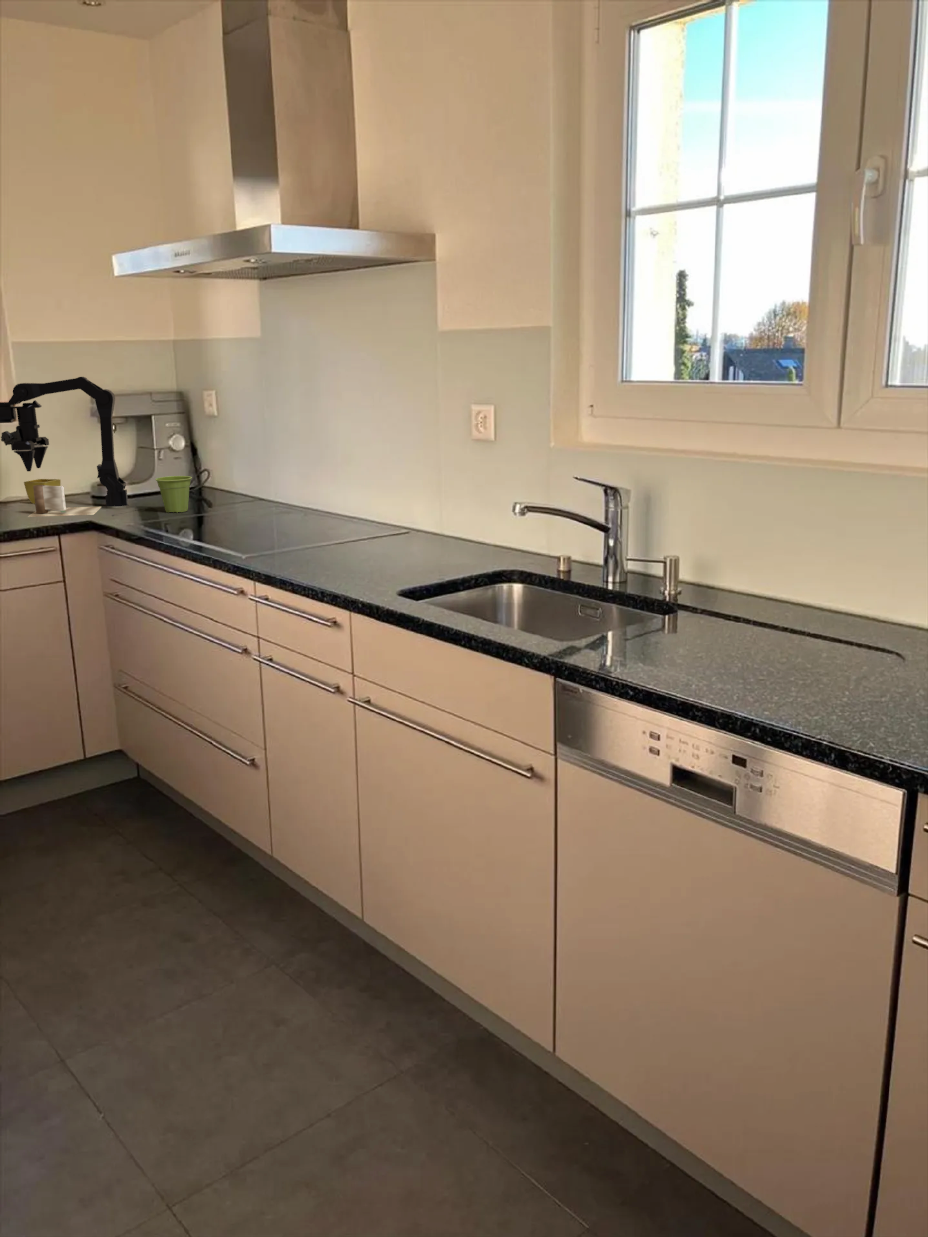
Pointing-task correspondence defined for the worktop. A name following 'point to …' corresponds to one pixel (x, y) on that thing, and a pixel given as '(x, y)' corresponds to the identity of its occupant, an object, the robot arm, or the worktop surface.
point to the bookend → (49, 498)
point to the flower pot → (45, 482)
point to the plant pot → (175, 492)
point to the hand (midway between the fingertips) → (33, 469)
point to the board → (69, 512)
